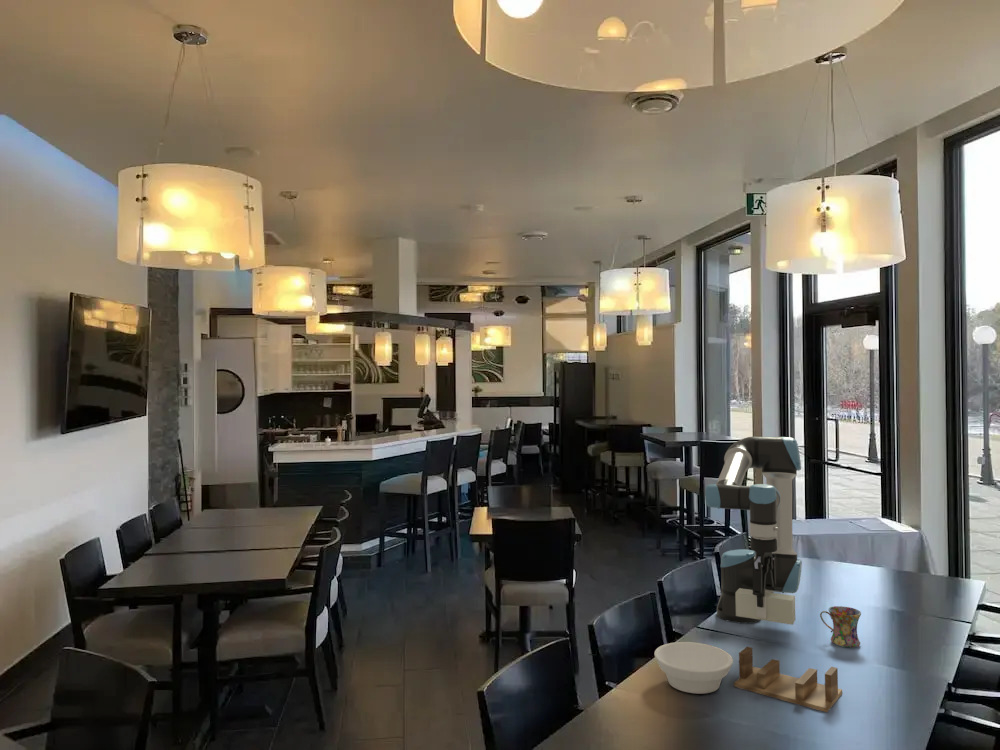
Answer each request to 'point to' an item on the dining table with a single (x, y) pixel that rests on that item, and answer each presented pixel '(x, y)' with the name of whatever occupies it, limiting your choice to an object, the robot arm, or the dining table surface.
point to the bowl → (693, 666)
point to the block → (776, 606)
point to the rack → (788, 683)
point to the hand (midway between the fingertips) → (765, 614)
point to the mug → (844, 625)
